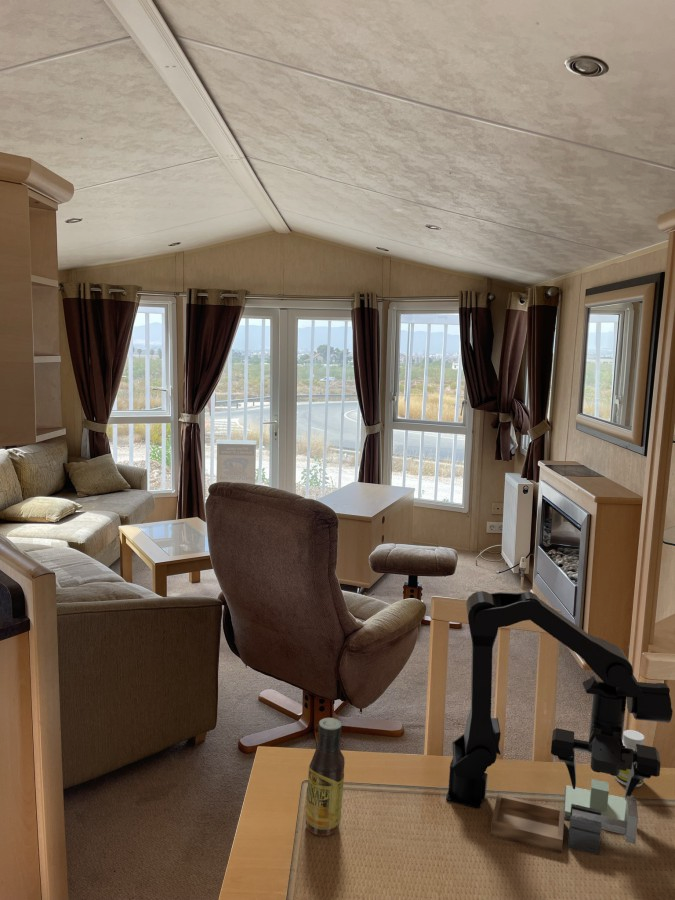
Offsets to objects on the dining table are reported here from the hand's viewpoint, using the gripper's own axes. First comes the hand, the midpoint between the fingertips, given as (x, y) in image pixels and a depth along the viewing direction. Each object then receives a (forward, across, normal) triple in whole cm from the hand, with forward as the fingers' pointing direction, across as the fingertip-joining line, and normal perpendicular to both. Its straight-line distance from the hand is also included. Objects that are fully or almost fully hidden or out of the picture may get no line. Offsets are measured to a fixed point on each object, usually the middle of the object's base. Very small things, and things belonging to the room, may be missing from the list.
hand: (599, 793), depth 137 cm
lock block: (+3, -3, -10) cm, 11 cm away
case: (+4, -12, -10) cm, 16 cm away
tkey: (0, 0, -11) cm, 11 cm away
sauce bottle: (+4, -46, -24) cm, 52 cm away
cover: (+3, 0, 0) cm, 3 cm away
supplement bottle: (+4, +6, +13) cm, 15 cm away
